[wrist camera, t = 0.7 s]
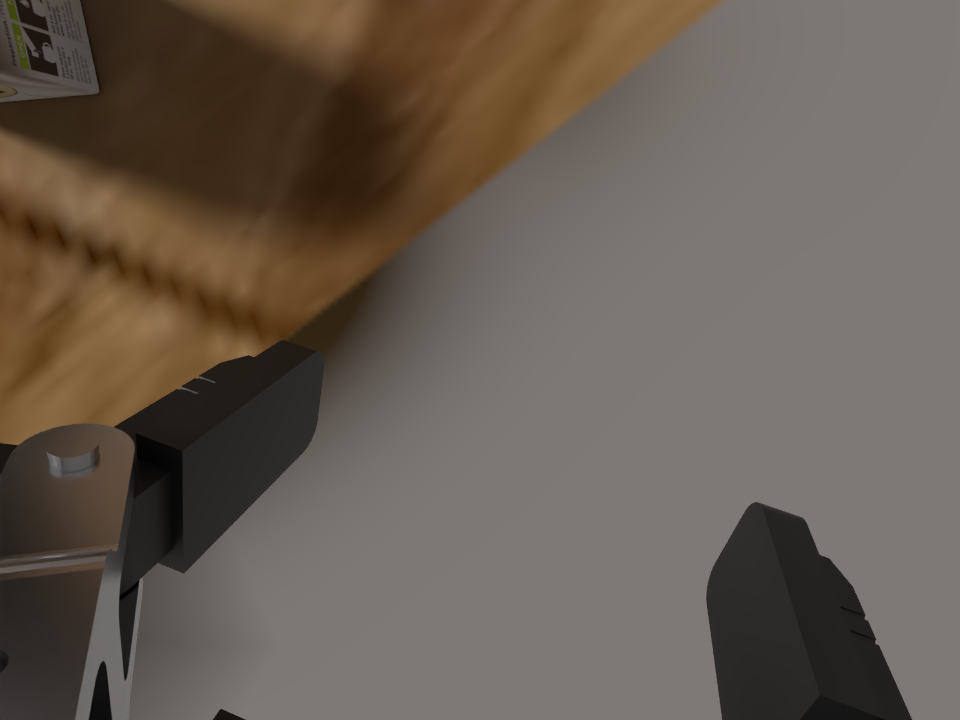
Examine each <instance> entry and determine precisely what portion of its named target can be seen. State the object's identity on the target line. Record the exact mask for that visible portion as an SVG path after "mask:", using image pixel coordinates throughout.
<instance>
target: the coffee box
mask: <svg viewBox="0 0 960 720" xmlns="http://www.w3.org/2000/svg"><path fill="white" fill-rule="evenodd" d="M98 92H99V86H98V81H97V77H96V72H95V67H94V63H93V58H92V54H91V49H90V45H89V39H88V35H87V30H86V26H85V21H84V16H83V12H82V7H81V2H80V0H0V102H9V101H21V100H32V99H43V98H55V97H66V96H77V95H91V94H97V93H98Z"/></svg>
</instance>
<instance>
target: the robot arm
mask: <svg viewBox="0 0 960 720" xmlns="http://www.w3.org/2000/svg"><path fill="white" fill-rule="evenodd" d="M323 369H324V357H323V355H322V354H321V353H320V352H317V351H315V350H311V349H309V348H306V347H303V346H300V345H297V344H294V343H291V342H288V341H285V340H283V341H280V342H278V343H276V344H275V345H273V346H271V347H270V348H268V349H267V350H265V351H264V352H262V353H260V354H259V355H257V356H256V357H252V356H249V355H248V356H244V357H241V358H237V359H233V360H229V361H226V362H222V363H219V364H218V365H216V366H214V367H213V368H211V369H209V370H208V371H206V372H205V373H203V374H201V375H200V376H199V378H198V379H196V378H195V379H193V380H191V381H190V382H188V383H186V384H185V385H183V386H182V387H181V389H180V390H178V389H176V390H175V391H173V392H171V393H170V394H168V395H166V396H165V397H163V398H161V399H160V400H158V401H156V402H155V403H153V404H151V405H150V406H148V407H146V408H145V409H143V410H141V411H140V412H138V413H136V414H135V415H133V416H131V417H130V418H128V419H126V420H125V421H123V422H121V423H120V424H118V425H116V426H115V427H111V426H106V425H100V424H72V425H66V426H61V427H56V428H52V429H49V430H46V431H43V432H40V433H38V434H36V435H34V436H32V437H30V438H28V439H26V440H25V441H23V442H22V443H21V444H19V445H11V444H2V443H0V720H129V703H130V692H131V684H132V675H133V667H134V658H135V650H136V641H137V633H138V624H139V615H140V607H141V598H142V589H143V584H142V577H143V576H144V575H145V574H146V573H147V572H148V571H149V570H150V569H151V568H152V567H153V566H154V565H156V564H157V563H160V564H162V565H165V566H167V567H169V568H172V569H174V570H177V571H179V572H181V573H185V571H187V570H188V569H189V568H190V567H191V566H192V565H193V564H194V563H195V562H196V561H197V559H199V558H200V557H201V555H203V554H204V553H205V551H206V550H207V549H208V548H209V547H210V546H211V545H212V544H213V543H214V542H215V541H216V540H217V539H218V538H219V537H220V536H221V535H222V534H223V533H224V532H225V531H226V530H227V529H228V528H229V527H230V526H231V525H232V524H233V523H234V522H235V521H236V520H237V519H238V518H239V517H240V516H241V515H242V514H243V513H244V512H245V511H246V510H247V509H248V508H249V507H250V506H251V505H252V504H253V503H254V502H255V501H256V500H257V498H259V497H260V496H261V495H262V494H263V493H264V491H266V490H267V489H268V488H269V486H271V485H272V483H273V482H275V481H276V480H277V479H278V477H279V476H280V475H281V474H282V473H283V472H284V471H285V470H286V469H287V468H288V467H289V466H290V465H291V464H292V463H293V462H294V461H295V460H296V459H297V458H298V457H299V456H300V455H301V454H302V453H303V452H304V451H305V449H306V448H307V447H308V445H309V443H310V442H311V439H312V437H313V435H314V432H315V429H316V426H317V421H318V413H319V404H320V395H321V387H322V379H323ZM706 597H707V598H706V599H707V609H708V616H709V624H710V630H711V639H712V646H713V654H714V661H715V668H716V676H717V683H718V690H719V697H720V706H721V713H722V720H912V719H911V716H910V714H909V712H908V710H907V707H906V706H905V703H904V701H903V698H902V696H901V694H900V692H899V689H898V687H897V685H896V683H895V680H894V678H893V676H892V674H891V671H890V670H889V667H888V665H887V662H886V660H885V658H884V656H883V653H882V651H881V649H880V647H879V645H876V644H875V640H876V638H875V636H874V634H873V631H872V629H871V627H870V624H869V622H868V621H867V620H865V619H864V617H865V613H864V611H863V609H862V606H861V604H860V602H859V600H858V597H857V595H856V593H855V591H854V588H853V586H852V585H851V584H850V583H849V582H848V581H847V579H846V578H845V577H844V576H843V574H842V573H841V572H840V571H839V570H838V568H837V567H836V566H835V565H834V564H833V563H832V561H831V560H830V559H829V558H826V557H824V556H821V555H819V553H818V550H817V548H816V545H815V543H814V540H813V538H812V536H811V533H810V531H809V528H808V525H807V523H806V521H805V520H804V519H803V518H802V517H799V516H796V515H793V514H790V513H787V512H785V511H782V510H779V509H776V508H773V507H770V506H767V505H764V504H761V503H758V502H755V503H753V504H751V505H750V506H749V507H748V508H747V509H746V511H745V513H744V514H743V516H742V518H741V519H740V521H739V523H738V524H737V526H736V528H735V530H734V531H733V533H732V535H731V537H730V538H729V540H728V542H727V544H726V545H725V547H724V549H723V550H722V552H721V554H720V556H719V557H718V559H717V561H716V563H715V565H714V567H713V569H712V571H711V574H710V578H709V581H708V586H707V596H706ZM213 720H245V719H243V718H240V717H238V716H236V715H234V714H231V713H229V712H227V711H225V710H222V709H220V710H219V712H218V713H217V715H216V716H215V718H214V719H213Z"/></svg>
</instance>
